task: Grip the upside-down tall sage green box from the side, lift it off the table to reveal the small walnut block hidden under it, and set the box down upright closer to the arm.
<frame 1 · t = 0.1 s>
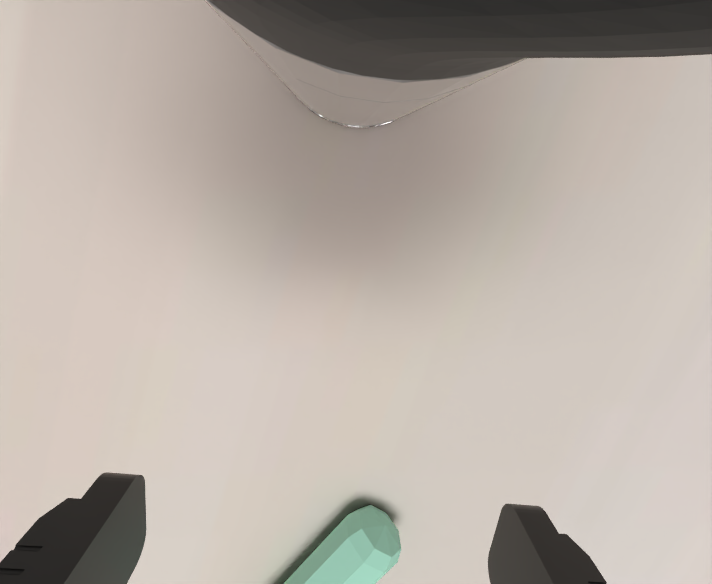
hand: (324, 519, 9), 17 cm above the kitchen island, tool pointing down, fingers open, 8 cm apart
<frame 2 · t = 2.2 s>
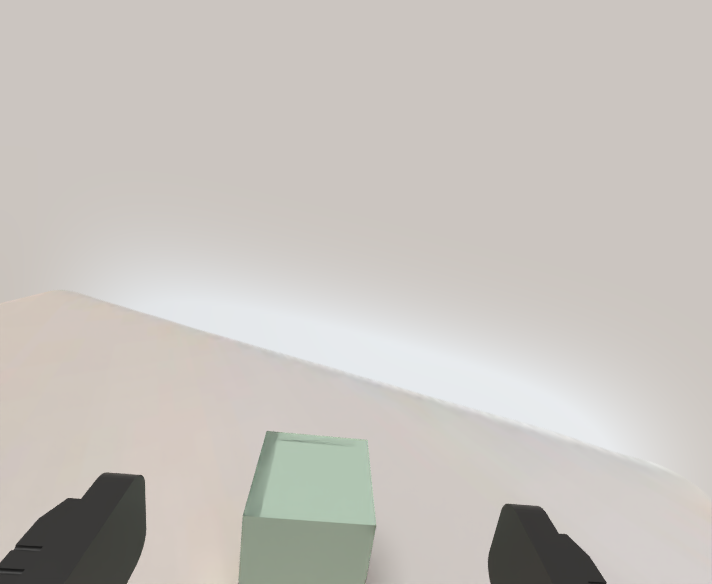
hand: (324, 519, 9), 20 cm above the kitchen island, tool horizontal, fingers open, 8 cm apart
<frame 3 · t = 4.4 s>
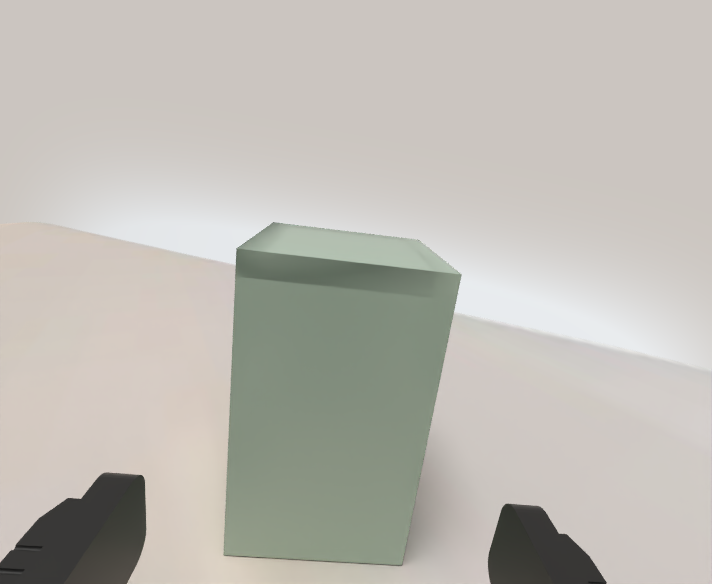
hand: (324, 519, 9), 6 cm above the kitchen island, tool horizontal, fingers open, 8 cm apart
tall sage green box: (318, 491, 17), on the kitchen island
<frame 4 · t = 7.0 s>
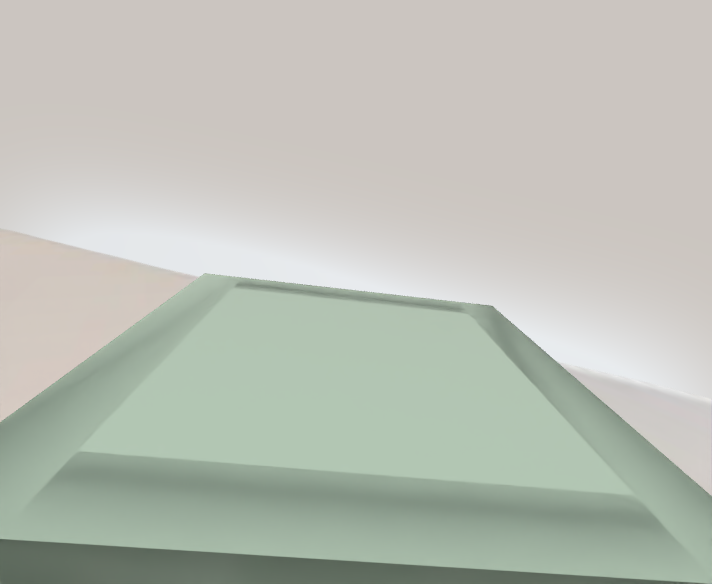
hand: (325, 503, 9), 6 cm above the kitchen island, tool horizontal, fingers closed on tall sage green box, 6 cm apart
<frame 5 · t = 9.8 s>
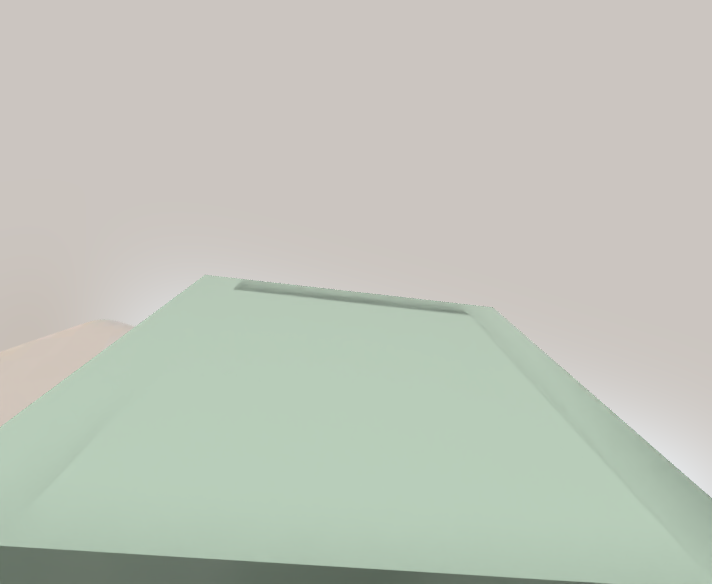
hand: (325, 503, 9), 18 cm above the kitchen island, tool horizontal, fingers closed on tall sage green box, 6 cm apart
when the fingers open (7 cm above the kitchen island, at t = 12.9 s): tall sage green box drops 1 cm, on the kitchen island.
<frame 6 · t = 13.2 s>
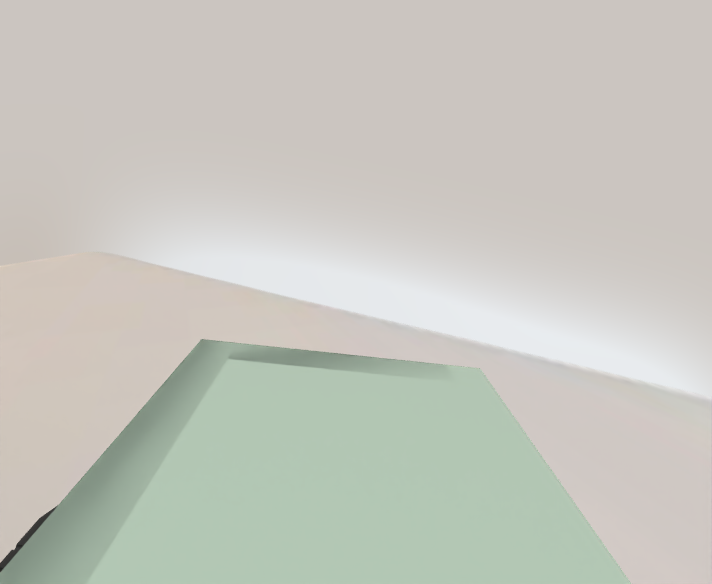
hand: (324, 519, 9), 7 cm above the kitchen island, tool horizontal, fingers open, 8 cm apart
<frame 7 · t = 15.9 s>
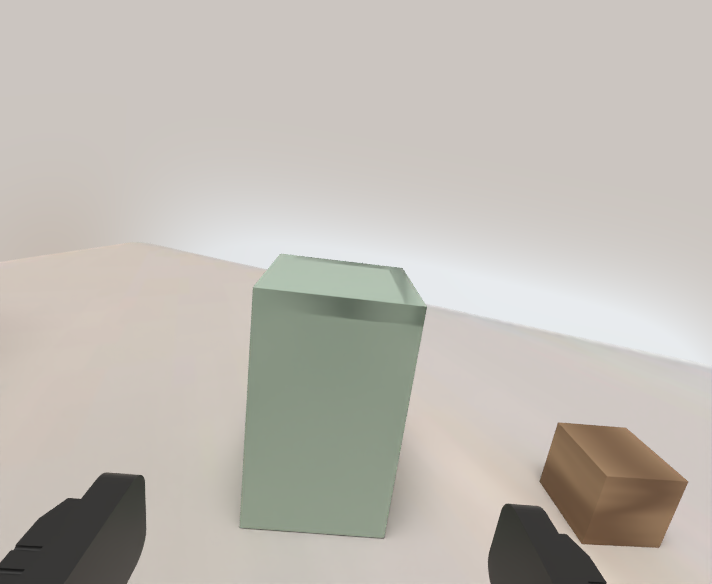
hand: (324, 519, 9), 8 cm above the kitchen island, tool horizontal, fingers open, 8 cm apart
walnut block: (605, 482, 20), on the kitchen island
tall sage green box: (317, 479, 21), on the kitchen island
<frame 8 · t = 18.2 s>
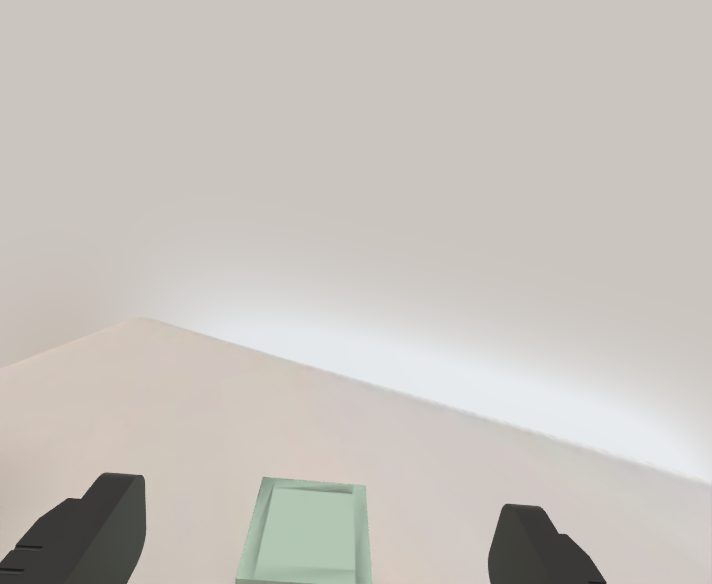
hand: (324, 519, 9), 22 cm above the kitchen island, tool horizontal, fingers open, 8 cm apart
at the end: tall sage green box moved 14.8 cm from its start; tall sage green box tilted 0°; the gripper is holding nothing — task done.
